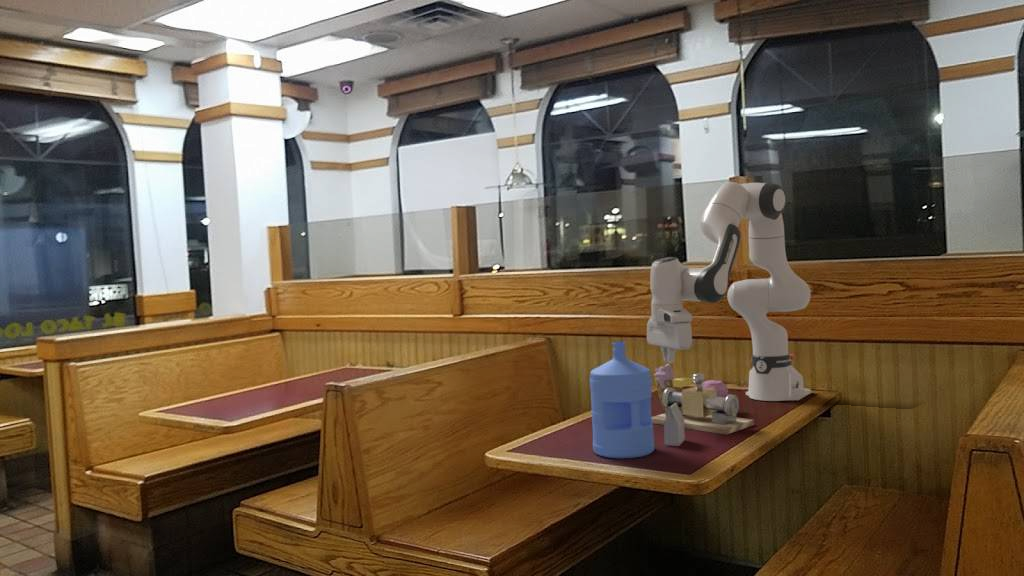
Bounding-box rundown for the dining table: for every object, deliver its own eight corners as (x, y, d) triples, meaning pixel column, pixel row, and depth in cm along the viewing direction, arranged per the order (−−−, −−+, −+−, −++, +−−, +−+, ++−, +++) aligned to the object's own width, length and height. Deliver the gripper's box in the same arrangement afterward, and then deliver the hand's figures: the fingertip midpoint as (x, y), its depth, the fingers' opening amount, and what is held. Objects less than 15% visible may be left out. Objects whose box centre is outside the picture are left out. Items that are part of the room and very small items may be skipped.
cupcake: (722, 415, 249) (721, 382, 248) (695, 413, 253) (693, 381, 253) (732, 410, 256) (731, 377, 255) (705, 408, 261) (704, 376, 260)
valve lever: (697, 380, 241) (697, 373, 241) (706, 381, 239) (706, 374, 239) (672, 386, 233) (672, 379, 233) (681, 387, 230) (681, 380, 230)
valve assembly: (677, 414, 254) (675, 375, 253) (753, 425, 235) (752, 382, 234) (649, 422, 244) (647, 382, 244) (726, 434, 225) (724, 390, 224)
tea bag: (684, 440, 222) (683, 402, 221) (678, 446, 215) (677, 407, 215) (671, 439, 223) (669, 402, 223) (664, 445, 217) (663, 407, 217)
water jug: (582, 449, 217) (577, 342, 215) (633, 441, 223) (629, 337, 222) (612, 462, 202) (607, 348, 201) (667, 453, 209) (662, 342, 207)
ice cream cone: (675, 413, 256) (673, 364, 255) (654, 413, 257) (652, 365, 256) (675, 408, 262) (673, 361, 261) (655, 409, 263) (653, 362, 263)
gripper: (640, 313, 246) (642, 359, 247) (674, 316, 227) (676, 367, 227) (659, 311, 248) (661, 358, 249) (695, 315, 229) (697, 365, 229)
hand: (669, 362), depth 238 cm, fingers closed
